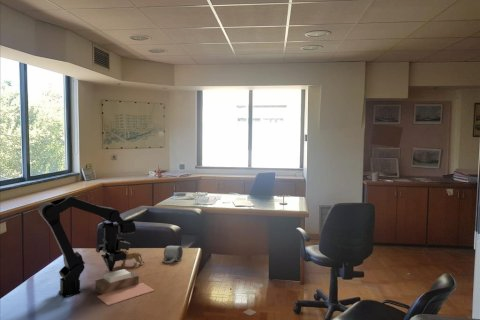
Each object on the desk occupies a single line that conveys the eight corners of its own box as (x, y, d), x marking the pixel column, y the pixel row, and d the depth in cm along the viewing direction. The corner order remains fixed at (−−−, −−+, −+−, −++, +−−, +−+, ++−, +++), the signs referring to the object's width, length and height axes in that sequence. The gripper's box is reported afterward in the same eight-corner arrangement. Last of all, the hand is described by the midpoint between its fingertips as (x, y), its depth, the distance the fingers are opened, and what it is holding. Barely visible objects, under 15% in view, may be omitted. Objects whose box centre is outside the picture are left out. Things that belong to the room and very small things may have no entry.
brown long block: (102, 295, 139) (102, 285, 139) (95, 289, 144) (95, 280, 144) (138, 284, 150) (138, 275, 150) (131, 279, 155) (131, 271, 155)
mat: (107, 305, 131) (107, 304, 131) (97, 296, 138) (97, 296, 138) (154, 290, 145) (154, 290, 145) (142, 283, 152) (142, 282, 152)
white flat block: (110, 283, 142) (110, 278, 142) (104, 278, 146) (104, 274, 146) (130, 277, 148) (130, 272, 148) (124, 273, 152) (124, 269, 152)
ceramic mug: (169, 256, 188) (169, 242, 188) (183, 258, 186) (183, 244, 185) (159, 263, 178) (159, 248, 178) (173, 265, 176) (173, 250, 175)
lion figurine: (114, 268, 169) (114, 250, 168) (114, 264, 174) (114, 247, 173) (145, 265, 174) (145, 248, 173) (144, 262, 179) (144, 245, 178)
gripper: (138, 237, 150) (137, 272, 151) (118, 229, 163) (118, 261, 164) (113, 242, 142) (113, 279, 143) (95, 233, 156) (95, 267, 156)
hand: (110, 271), depth 152 cm, fingers closed
